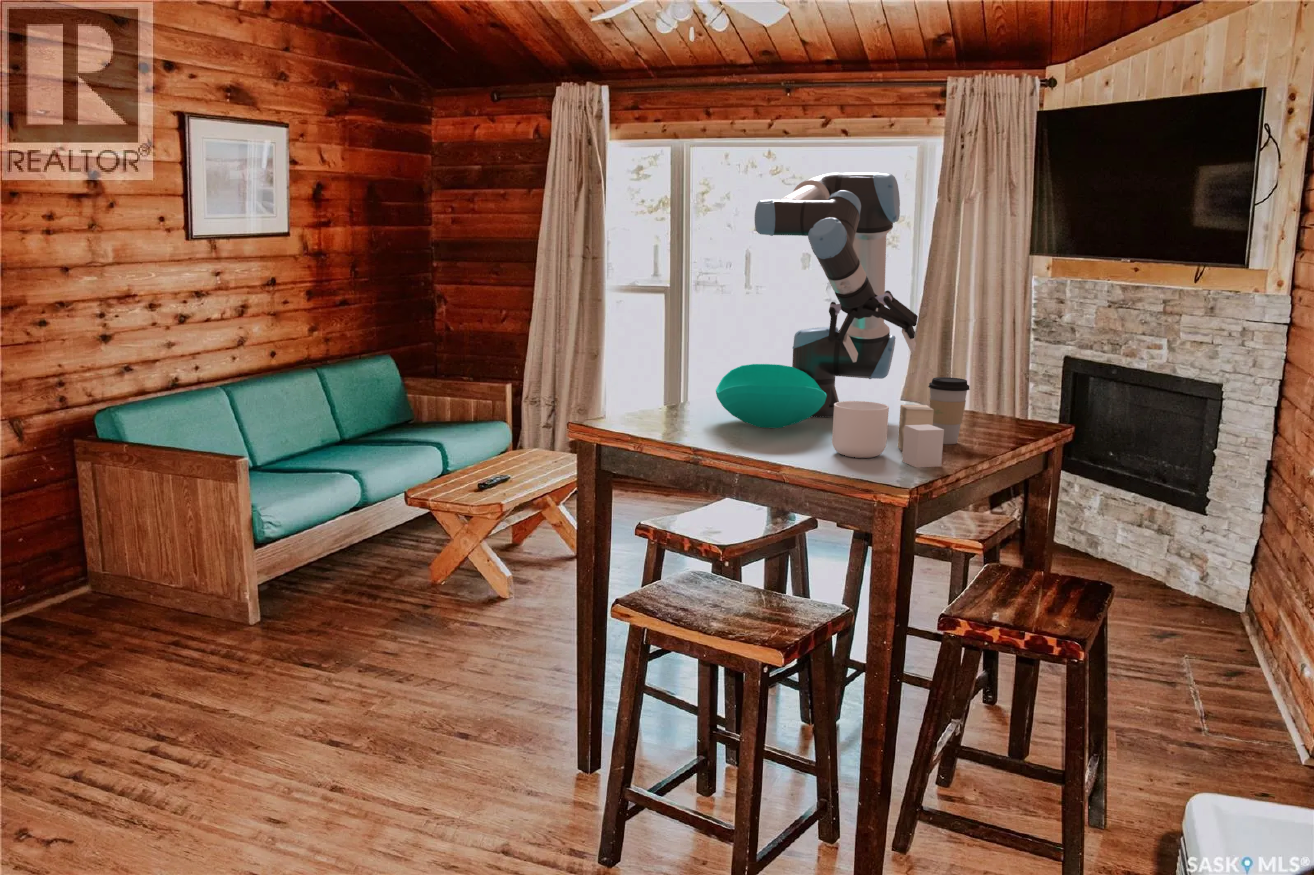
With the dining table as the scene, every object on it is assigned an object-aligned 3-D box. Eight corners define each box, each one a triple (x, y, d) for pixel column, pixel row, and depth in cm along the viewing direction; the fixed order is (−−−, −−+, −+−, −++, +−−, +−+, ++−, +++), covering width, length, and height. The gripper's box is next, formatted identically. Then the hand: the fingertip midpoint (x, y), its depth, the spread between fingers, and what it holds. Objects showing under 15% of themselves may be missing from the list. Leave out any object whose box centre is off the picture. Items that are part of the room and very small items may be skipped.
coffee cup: (916, 441, 247) (921, 378, 244) (937, 436, 254) (942, 375, 251) (952, 447, 240) (957, 383, 237) (972, 442, 247) (978, 380, 244)
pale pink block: (902, 461, 225) (904, 425, 224) (926, 460, 227) (929, 424, 225) (916, 467, 220) (918, 430, 218) (941, 466, 221) (944, 429, 220)
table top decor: (834, 443, 242) (837, 387, 239) (715, 440, 243) (717, 384, 240) (815, 413, 281) (818, 365, 278) (713, 410, 282) (715, 362, 279)
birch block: (897, 447, 240) (900, 404, 238) (923, 447, 240) (926, 405, 238) (904, 452, 234) (907, 409, 232) (930, 453, 234) (933, 409, 232)
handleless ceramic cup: (883, 462, 224) (886, 411, 221) (828, 458, 227) (831, 407, 225) (887, 451, 235) (890, 403, 233) (834, 447, 238) (837, 399, 236)
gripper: (793, 306, 224) (829, 373, 237) (904, 283, 211) (937, 355, 223) (799, 283, 228) (835, 350, 241) (909, 259, 215) (940, 331, 228)
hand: (884, 353), depth 232 cm, fingers open, 13 cm apart
